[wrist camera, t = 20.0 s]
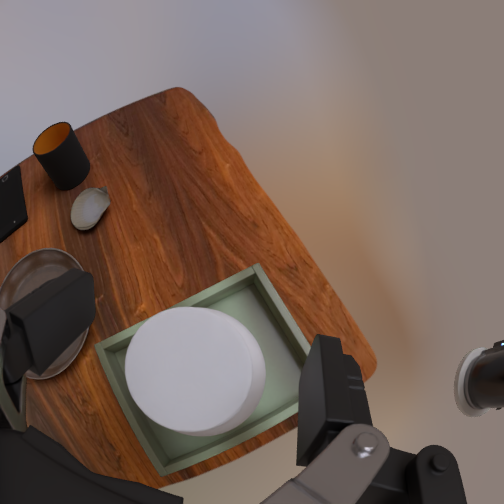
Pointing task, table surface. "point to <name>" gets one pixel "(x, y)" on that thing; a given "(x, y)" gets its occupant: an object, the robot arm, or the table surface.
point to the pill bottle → (195, 371)
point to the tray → (276, 363)
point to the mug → (62, 156)
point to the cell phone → (11, 203)
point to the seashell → (89, 207)
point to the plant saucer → (31, 277)
